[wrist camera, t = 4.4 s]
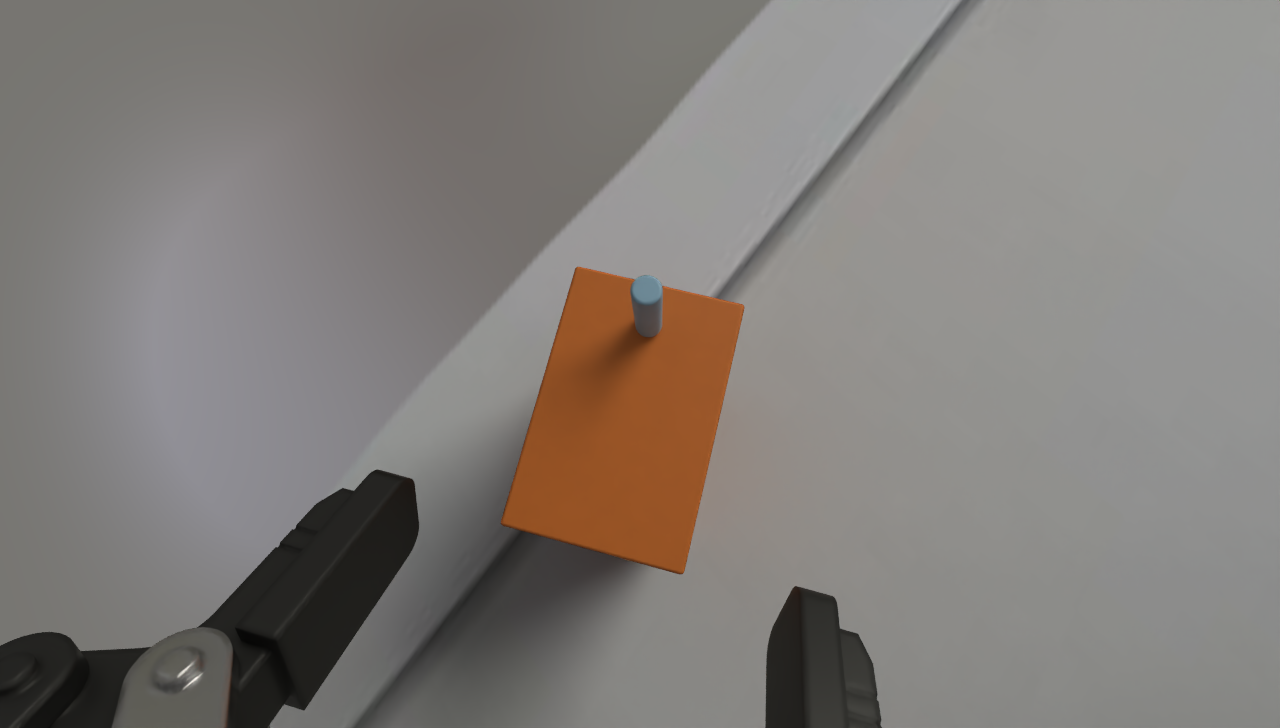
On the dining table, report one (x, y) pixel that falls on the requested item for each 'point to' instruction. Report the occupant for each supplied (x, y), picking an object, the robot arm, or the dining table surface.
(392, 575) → the robot arm
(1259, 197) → the dining table surface
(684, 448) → the juice box
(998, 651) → the dining table surface
